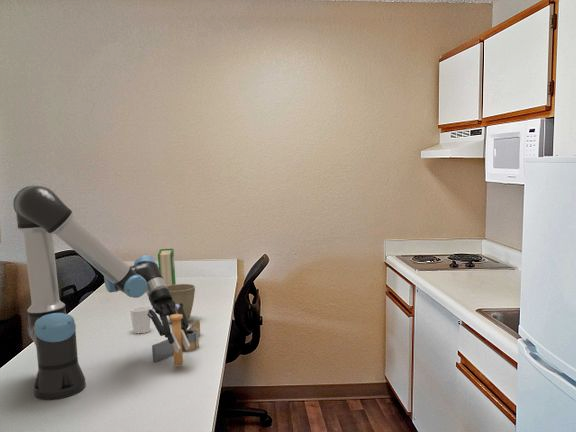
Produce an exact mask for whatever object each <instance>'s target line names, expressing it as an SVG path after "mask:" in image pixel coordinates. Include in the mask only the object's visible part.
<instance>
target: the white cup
mask: <svg viewBox="0 0 576 432" xmlns="http://www.w3.org/2000/svg"><path fill="white" fill-rule="evenodd" d="M149 310H150V307H149V306H145V305H144V306H135V307H132V308H131V309H130V317H131V324H132V331H133V333H134V334H135V333H138V334H137V335H140V334H139V333H144V334H147V333H149V332H150V331H151V328H150V327H151V318H150V317H149V316H148V315H147V314H148V312H149ZM146 332H147V333H146Z"/></svg>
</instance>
